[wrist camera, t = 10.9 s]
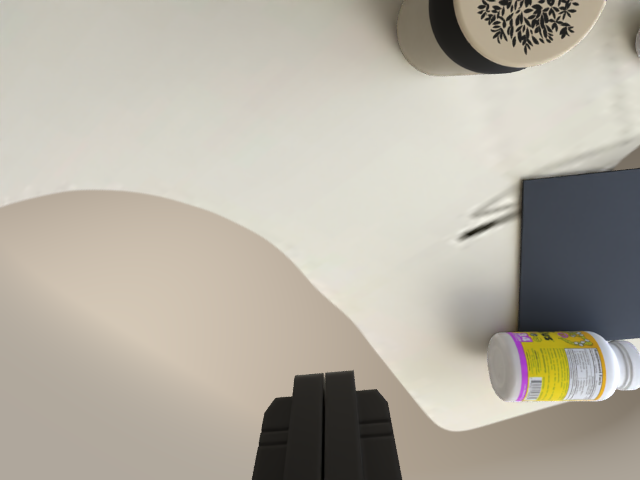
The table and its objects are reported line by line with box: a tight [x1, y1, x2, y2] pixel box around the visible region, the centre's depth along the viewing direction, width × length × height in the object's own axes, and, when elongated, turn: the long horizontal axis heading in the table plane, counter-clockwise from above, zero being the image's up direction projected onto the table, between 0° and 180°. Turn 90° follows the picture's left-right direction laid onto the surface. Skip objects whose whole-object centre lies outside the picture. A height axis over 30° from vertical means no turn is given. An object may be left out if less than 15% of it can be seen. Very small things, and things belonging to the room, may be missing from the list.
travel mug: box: [397, 0, 607, 76], centre depth 30 cm, size 8×8×18 cm
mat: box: [518, 168, 640, 341], centre depth 45 cm, size 18×14×1 cm
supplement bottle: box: [487, 331, 640, 402], centre depth 45 cm, size 7×7×13 cm
